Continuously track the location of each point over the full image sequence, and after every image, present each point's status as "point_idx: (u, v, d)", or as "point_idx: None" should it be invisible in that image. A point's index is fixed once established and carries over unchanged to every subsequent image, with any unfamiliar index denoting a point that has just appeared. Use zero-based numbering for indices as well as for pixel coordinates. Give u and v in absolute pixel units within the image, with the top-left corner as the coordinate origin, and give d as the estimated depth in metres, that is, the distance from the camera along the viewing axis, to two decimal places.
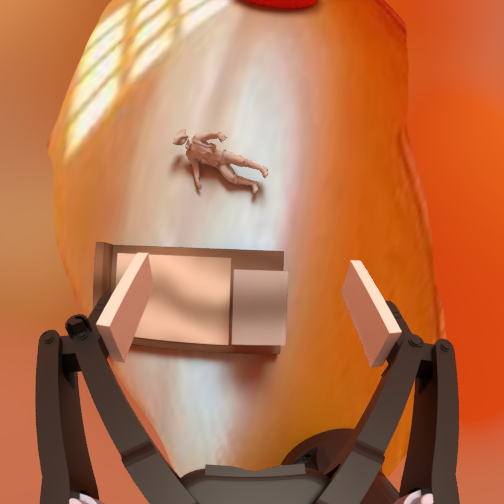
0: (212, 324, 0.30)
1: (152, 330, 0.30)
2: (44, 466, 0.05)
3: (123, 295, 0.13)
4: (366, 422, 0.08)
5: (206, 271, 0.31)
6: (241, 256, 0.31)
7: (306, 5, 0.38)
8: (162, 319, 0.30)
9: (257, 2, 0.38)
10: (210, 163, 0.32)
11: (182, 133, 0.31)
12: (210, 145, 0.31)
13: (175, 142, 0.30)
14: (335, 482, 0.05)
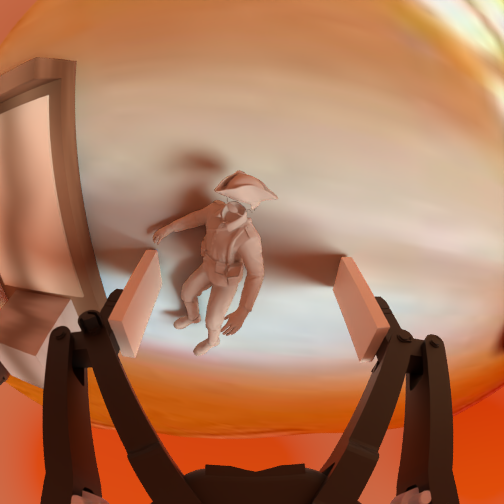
0: (11, 269, 0.16)
1: None
2: (48, 461, 0.05)
3: (134, 291, 0.13)
4: (358, 419, 0.08)
5: (56, 264, 0.15)
6: (90, 308, 0.18)
7: None
8: None
9: None
10: (203, 257, 0.15)
11: (258, 198, 0.12)
12: (232, 270, 0.14)
13: (221, 193, 0.11)
14: (331, 481, 0.05)
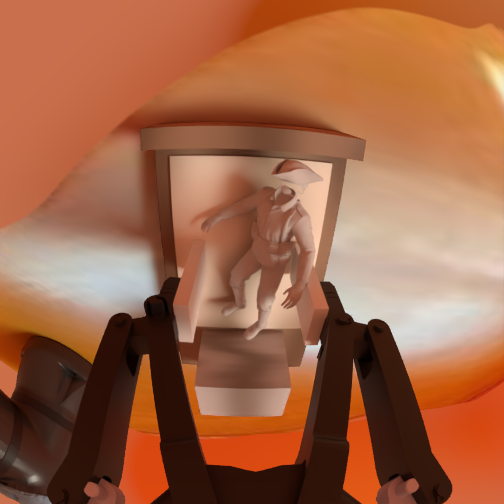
0: (211, 311, 0.22)
1: (189, 229, 0.18)
2: (73, 443, 0.06)
3: (193, 277, 0.14)
4: (316, 412, 0.08)
5: None
6: (300, 335, 0.24)
7: None
8: (210, 246, 0.19)
9: None
10: (253, 241, 0.17)
11: (308, 180, 0.13)
12: (285, 249, 0.15)
13: (276, 176, 0.13)
14: (308, 480, 0.05)
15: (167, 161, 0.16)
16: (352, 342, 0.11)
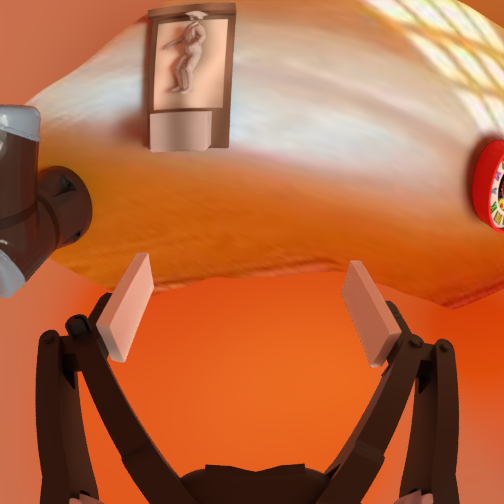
0: (169, 97, 0.33)
1: (163, 52, 0.29)
2: (43, 466, 0.05)
3: (123, 295, 0.13)
4: (366, 422, 0.08)
5: (211, 89, 0.32)
6: (223, 115, 0.34)
7: (474, 205, 0.42)
8: (172, 58, 0.30)
9: (481, 157, 0.37)
10: (184, 47, 0.28)
11: (200, 14, 0.24)
12: (194, 40, 0.26)
13: (187, 14, 0.23)
14: (335, 482, 0.05)
15: (157, 26, 0.27)
16: (418, 365, 0.10)
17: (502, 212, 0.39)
